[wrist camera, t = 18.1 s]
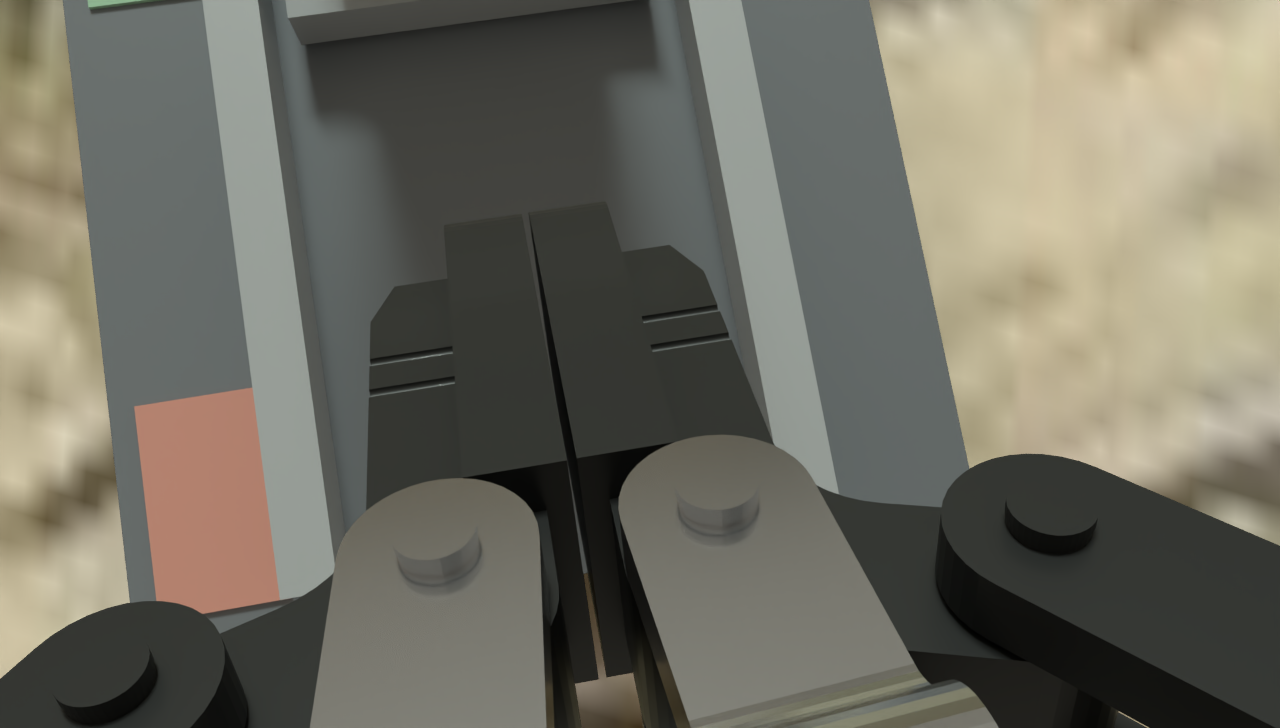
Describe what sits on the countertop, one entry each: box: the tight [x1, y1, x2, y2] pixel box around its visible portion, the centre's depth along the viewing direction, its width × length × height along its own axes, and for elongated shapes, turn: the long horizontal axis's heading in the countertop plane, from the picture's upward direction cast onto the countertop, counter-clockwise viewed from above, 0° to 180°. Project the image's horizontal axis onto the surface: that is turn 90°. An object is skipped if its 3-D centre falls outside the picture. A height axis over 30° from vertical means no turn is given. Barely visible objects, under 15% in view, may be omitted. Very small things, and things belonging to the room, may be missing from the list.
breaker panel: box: [63, 0, 969, 633], centre depth 24 cm, size 16×17×4 cm
